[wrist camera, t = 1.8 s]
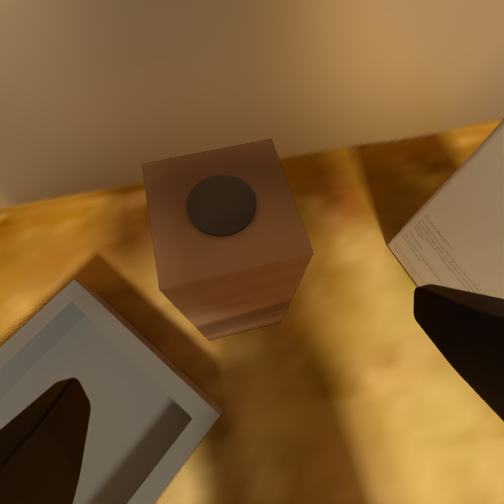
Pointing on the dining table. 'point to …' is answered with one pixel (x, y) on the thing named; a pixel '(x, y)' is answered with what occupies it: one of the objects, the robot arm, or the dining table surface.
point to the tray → (109, 395)
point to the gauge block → (226, 237)
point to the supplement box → (461, 227)
